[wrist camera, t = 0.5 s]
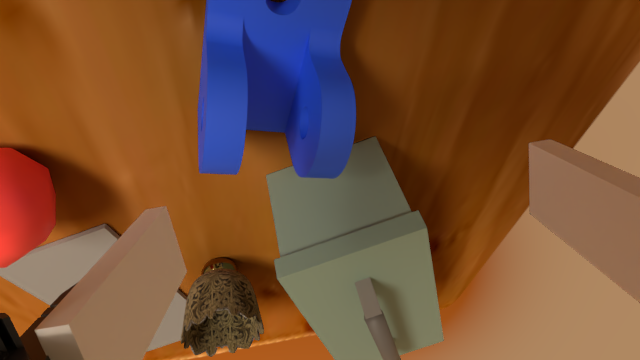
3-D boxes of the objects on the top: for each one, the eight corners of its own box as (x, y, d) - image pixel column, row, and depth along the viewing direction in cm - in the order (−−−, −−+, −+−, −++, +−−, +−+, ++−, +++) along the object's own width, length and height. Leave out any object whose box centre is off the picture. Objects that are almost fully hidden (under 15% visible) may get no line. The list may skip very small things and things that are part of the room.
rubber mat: (-10, 264, 37) (-12, 269, 37) (105, 223, 37) (104, 228, 36) (135, 351, 53) (134, 355, 53) (216, 323, 53) (217, 327, 52)
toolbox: (257, 174, 37) (282, 330, 27) (379, 131, 36) (449, 273, 26) (321, 285, 52) (351, 411, 42) (407, 256, 51) (459, 377, 41)
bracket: (306, 118, 34) (332, 200, 28) (197, 108, 31) (199, 197, 25) (386, -164, 22) (462, -131, 16) (223, -218, 19) (237, -205, 13)
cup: (258, 242, 43) (268, 313, 38) (252, 282, 48) (260, 351, 43) (181, 245, 41) (180, 322, 35) (182, 287, 46) (181, 360, 40)
